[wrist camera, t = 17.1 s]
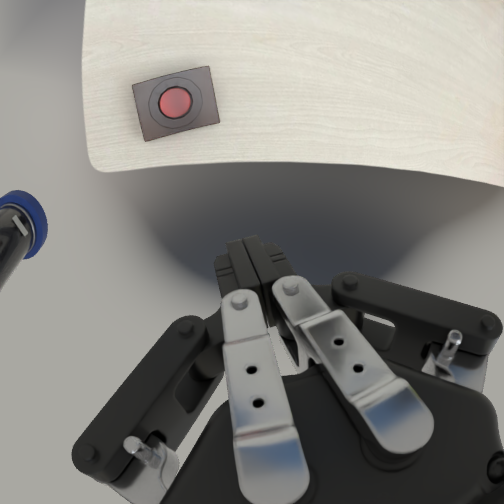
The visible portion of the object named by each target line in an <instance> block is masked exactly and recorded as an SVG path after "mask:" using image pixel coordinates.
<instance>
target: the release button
mask: <svg viewBox="0 0 504 504" xmlns="http://www.w3.org/2000/svg"><path fill="white" fill-rule="evenodd" d="M189 107H190V97H189V95H188V93H187V92H186V91H184V90H183V89H180V88H173V89H170V90H168V91H166V92H165V93H164V94H163V95H162V97H161V99H160V108H161V110H162V112H163V113H164V114H165V115H167V116H169V117H179V116H182V115H183V114H185V113H186V112H187V110H188V109H189Z"/></svg>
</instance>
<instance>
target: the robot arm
mask: <svg viewBox="0 0 504 504" xmlns="http://www.w3.org/2000/svg"><path fill="white" fill-rule="evenodd" d="M36 234H37V233H36V226H35V222H34V220H33V218H32V216H31V214H30V213H29V212H28V211H27V209H26V208H24V207H23V206H22V205H20V204H18V203H14V202H9V203H6V204H4V205H3V206H1V207H0V291H1V290H2V288H3V287H4V285H5V284H6V282H7V281H8V279H9V278H10V276H11V275H12V273H13V272H14V271H15V269H16V268H17V266H18V265H19V263H20V262H21V261H22V260H23V258H24V257H25V256H26V254H27V253H28V252H29V251H30V250H31V249H32V247H33V246H34V244H35V241H36ZM226 248H227V252H228V254H224V255H220V256H217V257H216V260H215V262H214V267H215V271H216V276H217V280H218V285H219V289H220V293H221V297H222V301H221V306H220V308H219V309H218V311H217V312H216V313H215V314H213V315H212V316H210V317H208V318H206V319H204V320H203V319H201V318H200V317H198V316H193V315H192V316H191V315H190V316H184V317H181V318H179V319H177V320H176V321H174V322H173V323H172V324H171V325H170V327H169V328H168V329H167V330H166V331H165V333H164V334H163V335H162V336H161V337H160V338H159V340H158V341H157V342H156V343H155V345H154V346H153V347H152V348H151V349H150V351H149V352H148V353H147V354H146V356H145V357H144V358H143V359H142V360H141V362H140V363H139V364H138V365H137V367H136V368H135V369H134V370H133V371H132V373H131V374H130V375H129V376H128V377H127V379H126V380H125V381H124V382H123V384H122V385H121V386H120V387H119V389H118V390H117V391H116V392H115V394H114V395H113V396H112V397H111V398H110V400H109V401H108V402H107V403H106V405H105V406H104V407H103V408H102V410H101V411H100V412H99V413H98V415H97V416H96V417H95V418H94V420H93V421H92V422H91V423H90V425H89V426H88V427H87V428H86V430H85V431H84V432H83V433H82V435H81V436H80V437H79V438H78V440H77V441H76V442H75V444H74V446H73V449H72V461H73V463H74V465H75V467H76V468H77V469H78V470H79V471H80V472H82V473H84V474H86V475H88V476H90V477H92V478H93V479H95V480H96V481H97V482H100V483H102V484H104V485H106V486H108V487H110V488H112V489H113V490H115V491H116V492H117V493H119V494H120V495H121V496H122V497H124V498H125V499H126V500H128V501H129V502H130V503H132V504H504V449H503V446H502V443H501V439H500V435H499V430H498V421H497V415H496V411H495V409H494V406H493V405H492V403H491V402H490V400H489V399H488V398H487V397H486V396H485V395H483V394H482V392H483V387H484V381H485V375H486V369H487V362H488V356H489V354H490V352H491V351H492V349H493V347H494V346H495V344H496V342H497V340H498V339H499V337H500V335H501V333H502V330H503V326H502V323H501V321H500V319H499V318H498V317H497V316H496V315H495V314H494V313H492V312H490V311H487V310H484V309H481V308H477V307H474V306H470V305H467V304H464V303H460V302H457V301H454V300H450V299H447V298H443V297H440V296H437V295H433V294H430V293H426V292H422V291H419V290H416V289H413V288H409V287H405V286H402V285H398V284H395V283H392V282H388V281H385V280H381V279H378V278H374V277H370V276H367V275H364V274H360V273H356V272H343V273H339V274H338V275H336V276H335V277H334V278H333V279H332V284H330V285H311V284H309V282H308V281H307V280H306V279H305V278H302V277H300V276H298V275H297V274H296V272H295V271H294V269H293V268H292V266H291V264H290V263H289V261H288V260H287V259H286V256H285V255H284V254H283V252H282V250H281V249H280V247H279V246H277V245H275V244H274V243H272V242H270V243H266V244H262V242H261V240H260V238H259V236H258V235H254V236H250V237H246V238H243V239H242V240H241V239H239V240H235V241H231V242H227V243H226ZM365 313H367V314H370V315H373V316H376V317H380V318H382V319H386V320H389V321H390V322H392V323H393V324H394V325H395V327H391V326H388V325H385V324H382V323H379V322H376V321H373V320H370V319H367V318H364V314H365ZM267 321H268V323H267ZM268 324H269V326H270V327H273V326H276V327H277V329H278V331H279V338H280V342H281V343H282V345H283V347H284V349H285V351H286V353H287V355H288V356H289V358H290V360H291V362H292V364H293V365H294V367H295V369H296V371H297V373H298V374H297V375H288V376H281V375H280V370H279V367H278V363H277V360H276V356H275V352H274V349H273V345H272V342H271V338H270V335H269V333H268V331H267V328H268ZM224 371H225V374H226V382H227V390H228V398H229V399H228V400H227V401H225V402H224V403H223V404H222V405H221V406H220V407H219V408H218V409H217V410H216V411H215V412H214V413H213V415H212V416H211V418H210V419H209V421H208V423H207V425H206V426H205V428H204V430H203V432H202V433H201V435H200V437H199V438H198V440H197V442H196V444H195V445H194V447H193V449H192V451H191V452H190V454H189V455H188V457H187V459H186V461H185V462H184V464H183V466H182V467H181V469H180V470H179V472H178V474H177V476H176V473H177V471H178V469H179V459H178V456H177V455H176V453H175V451H176V450H177V448H178V447H179V445H180V444H181V442H182V441H183V439H184V438H185V436H186V435H187V433H188V432H189V430H190V428H191V427H192V425H193V424H194V422H195V421H196V419H197V418H198V416H199V415H200V413H201V411H202V410H203V408H204V407H205V405H206V404H207V402H208V400H209V399H210V397H211V396H212V394H213V393H214V391H215V389H216V388H217V386H218V385H219V383H220V381H221V380H222V378H223V375H224ZM175 476H176V477H175Z"/></svg>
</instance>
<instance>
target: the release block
mask: <svg viewBox="0 0 504 504" xmlns="http://www.w3.org/2000/svg"><path fill="white" fill-rule="evenodd" d="M173 88H180V89H183V90H184V91H186V92H187V93H188V95H189V97H190V107H189V109H188V110H187V112H186V113H185V114H183V115H182V116H179V117H169V116H167V115H165V114H164V113H163V112H162V110H161V108H160V99H161V97H162V95H163V94H164V93H165V92H166V91H168V90H170V89H173ZM132 89H133V93H134V98H135V102H136V107H137V111H138V115H139V120H140V124H141V128H142V132H143V136H144V140H145V142H147V141H150V140H153V139H157V138H160V137H164V136H167V135H171V134H175V133H178V132H182V131H186V130H190V129H194V128H199V127H203V126H207V125H212V124H216V123H220V120H219V115H218V110H217V105H216V99H215V94H214V89H213V84H212V79H211V74H210V68H209V66H205V67H200V68H195V69H190V70H186V71H181V72H177V73H173V74H169V75H165V76H161V77H158V78H154V79H151V80H147V81H144V82H141V83H137V84H134V85H132Z"/></svg>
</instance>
